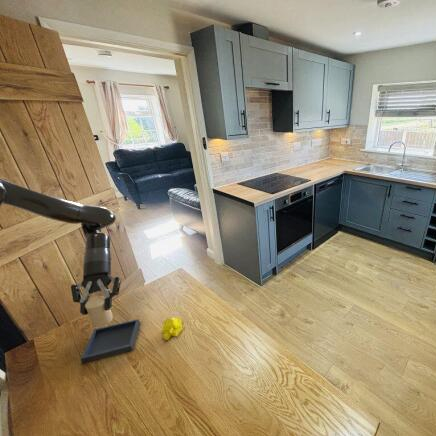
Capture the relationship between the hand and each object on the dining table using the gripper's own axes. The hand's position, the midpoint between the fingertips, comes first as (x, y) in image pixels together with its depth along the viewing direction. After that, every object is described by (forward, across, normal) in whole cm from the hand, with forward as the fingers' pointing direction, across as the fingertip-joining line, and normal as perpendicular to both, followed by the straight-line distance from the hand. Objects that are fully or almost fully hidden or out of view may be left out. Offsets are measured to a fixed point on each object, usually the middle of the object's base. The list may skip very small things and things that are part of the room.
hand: (96, 312), depth 79 cm
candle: (+3, 0, +5) cm, 6 cm away
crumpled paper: (+12, +20, +12) cm, 26 cm away
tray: (+10, 0, +13) cm, 17 cm away
